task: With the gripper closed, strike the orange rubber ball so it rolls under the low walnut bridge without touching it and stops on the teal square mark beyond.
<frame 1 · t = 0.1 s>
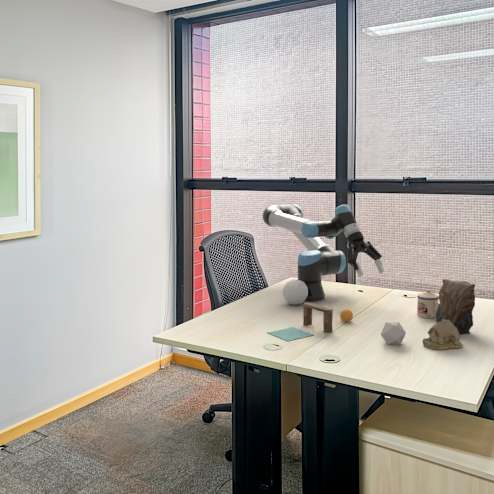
hand: (372, 274, 259), 15 cm above the table, tool tilted 35°, fingers open, 13 cm apart
die: (392, 343, 208), on the table
teacup with lid: (429, 316, 243), on the table
ball: (346, 315, 236), on the table
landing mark: (290, 334, 220), on the table
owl: (450, 331, 222), on the table
bridge: (317, 328, 228), on the table
ceramic model: (442, 346, 205), on the table
decorative ball: (295, 304, 267), on the table
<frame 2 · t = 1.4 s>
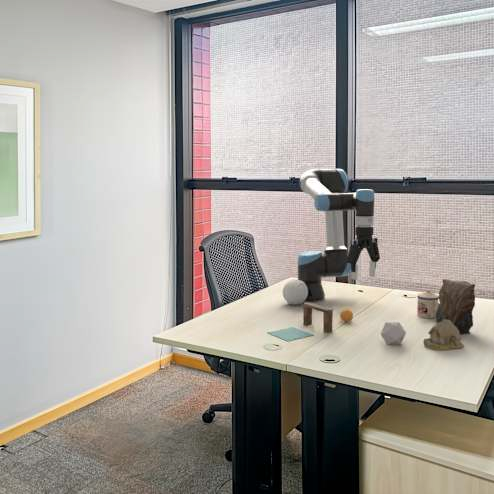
hand: (363, 277, 239), 18 cm above the table, tool pointing down, fingers open, 10 cm apart
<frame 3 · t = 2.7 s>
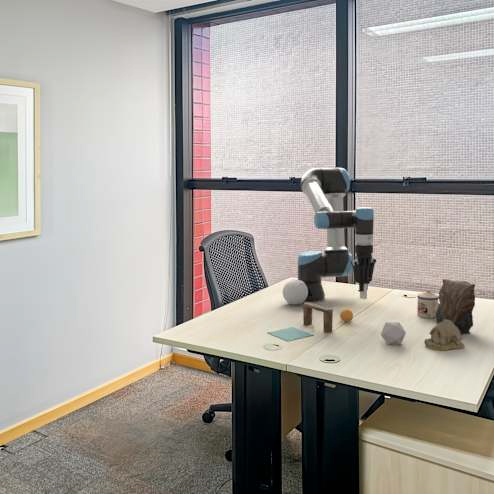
hand: (363, 298, 240), 9 cm above the table, tool pointing down, fingers closed
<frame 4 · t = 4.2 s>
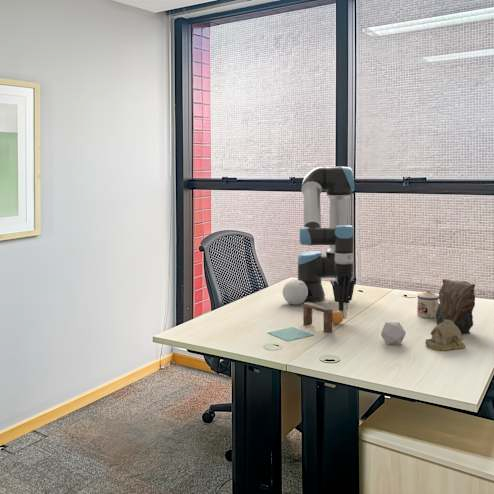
hand: (343, 317, 235), 2 cm above the table, tool pointing down, fingers closed
ball: (336, 317, 233), on the table
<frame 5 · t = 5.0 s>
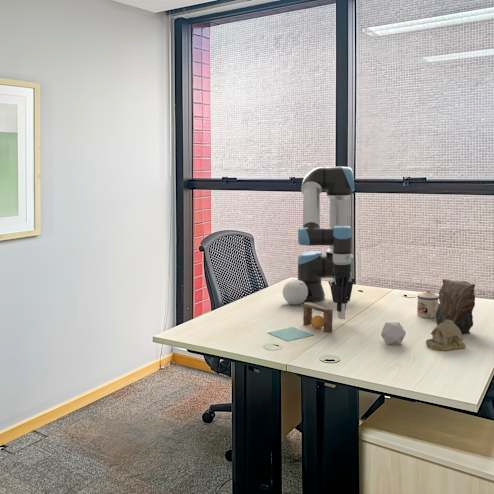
hand: (341, 318, 235), 2 cm above the table, tool pointing down, fingers closed
ball: (318, 321, 227), on the table
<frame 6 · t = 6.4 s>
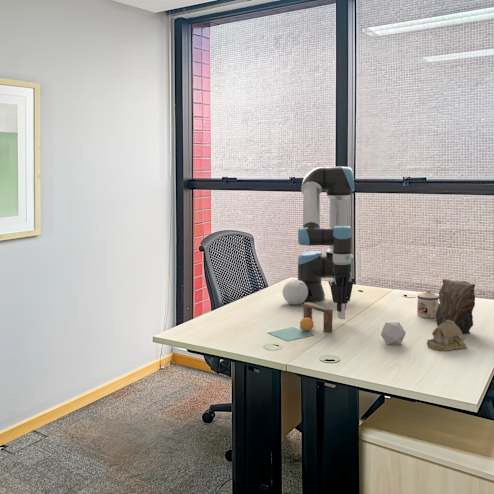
hand: (341, 318, 235), 2 cm above the table, tool pointing down, fingers closed
ball: (306, 324, 224), on the table
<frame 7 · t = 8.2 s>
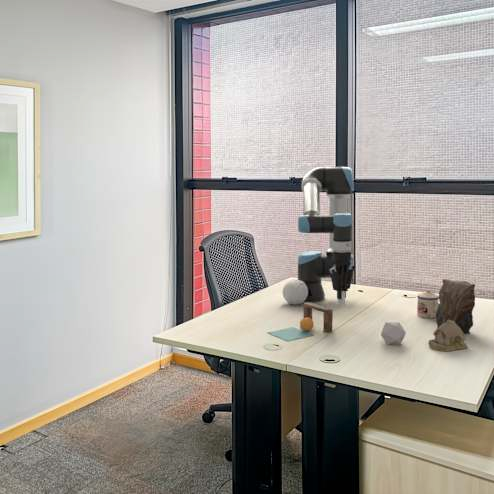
hand: (341, 306, 235), 7 cm above the table, tool pointing down, fingers closed
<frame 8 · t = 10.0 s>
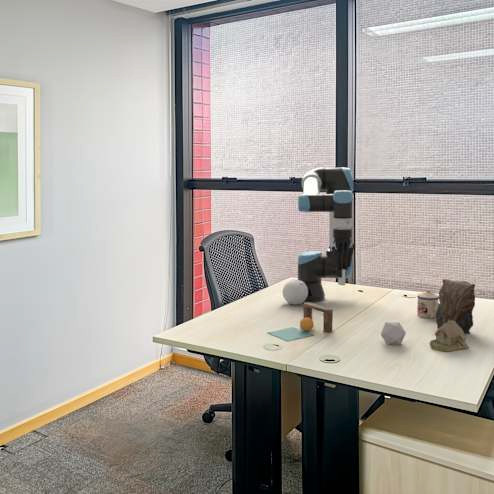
hand: (341, 284, 233), 16 cm above the table, tool pointing down, fingers closed
at the end: ball 7.9 cm from the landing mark (horizontally); ball never touched bridge; ball at rest at the end (0.0 cm/s) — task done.
